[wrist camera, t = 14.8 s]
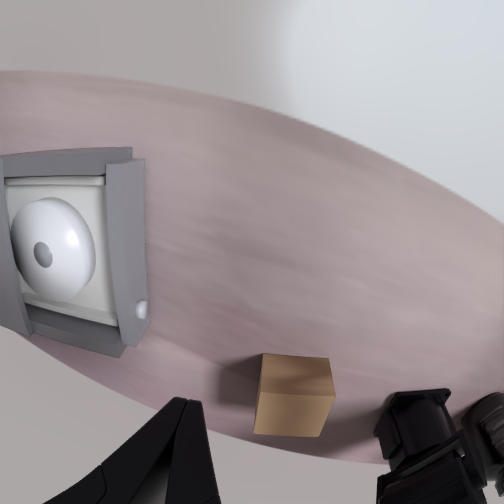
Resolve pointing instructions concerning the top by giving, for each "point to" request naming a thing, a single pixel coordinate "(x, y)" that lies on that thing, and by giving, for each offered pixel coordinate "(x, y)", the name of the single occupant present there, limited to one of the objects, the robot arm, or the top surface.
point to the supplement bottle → (489, 436)
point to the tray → (99, 243)
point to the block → (293, 396)
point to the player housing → (3, 265)
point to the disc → (53, 248)
